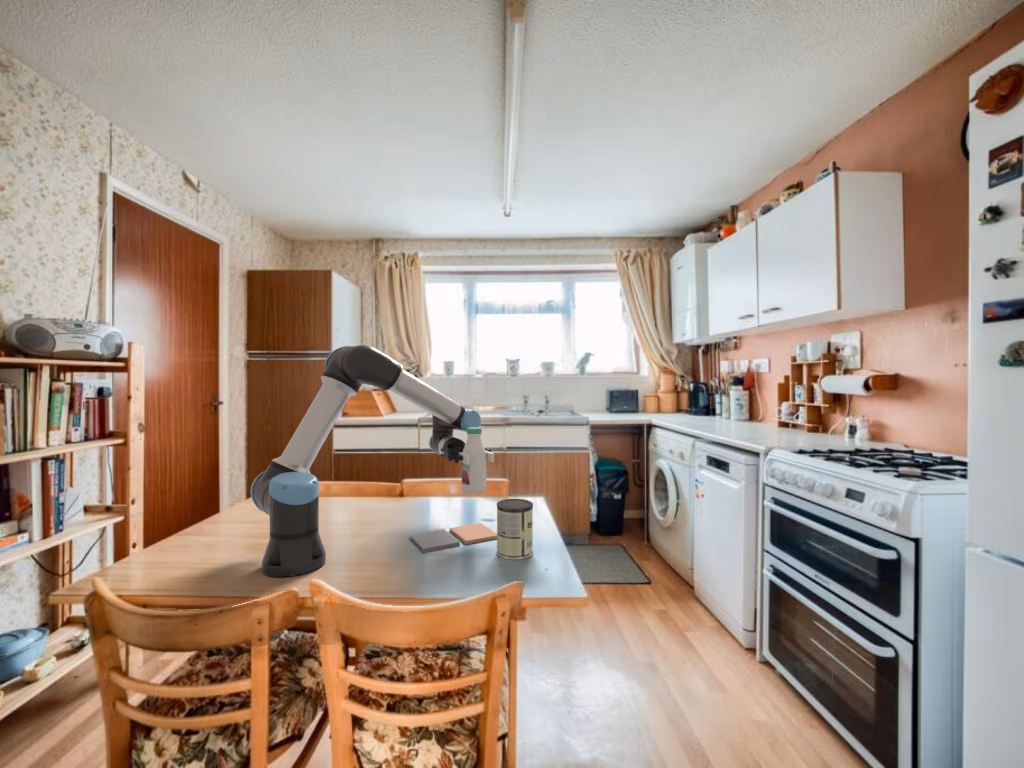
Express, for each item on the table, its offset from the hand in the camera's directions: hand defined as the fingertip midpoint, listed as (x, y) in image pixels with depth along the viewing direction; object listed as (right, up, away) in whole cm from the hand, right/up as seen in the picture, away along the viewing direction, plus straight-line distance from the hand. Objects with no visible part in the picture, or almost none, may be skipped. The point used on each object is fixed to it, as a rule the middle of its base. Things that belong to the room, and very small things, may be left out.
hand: (480, 458), depth 140 cm
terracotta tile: (-3, -25, +5) cm, 25 cm away
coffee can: (+10, -25, -10) cm, 29 cm away
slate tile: (-14, -25, -2) cm, 28 cm away
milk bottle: (-2, -11, +5) cm, 12 cm away
